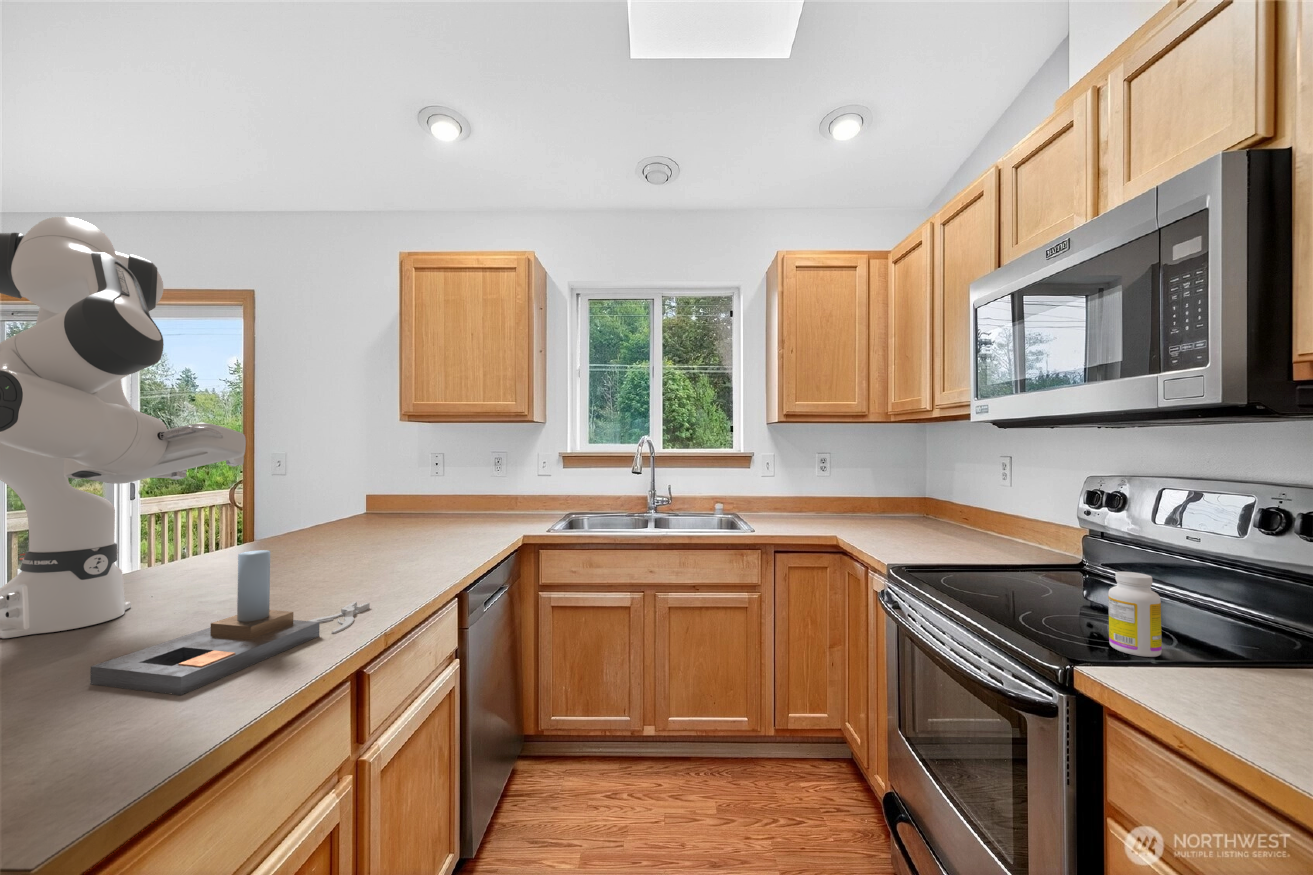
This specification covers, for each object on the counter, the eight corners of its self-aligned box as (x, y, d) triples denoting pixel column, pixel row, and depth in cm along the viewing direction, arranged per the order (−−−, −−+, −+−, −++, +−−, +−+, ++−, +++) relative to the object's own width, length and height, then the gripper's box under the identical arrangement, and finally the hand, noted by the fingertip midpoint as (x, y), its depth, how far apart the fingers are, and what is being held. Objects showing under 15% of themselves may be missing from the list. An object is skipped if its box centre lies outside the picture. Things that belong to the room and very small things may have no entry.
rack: (90, 684, 76) (90, 652, 76) (245, 629, 98) (245, 604, 98) (180, 695, 73) (181, 661, 73) (319, 636, 95) (319, 610, 95)
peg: (230, 620, 90) (231, 554, 90) (254, 612, 94) (255, 549, 94) (252, 622, 89) (253, 556, 89) (275, 614, 93) (276, 550, 93)
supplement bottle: (1151, 647, 92) (1151, 572, 92) (1169, 661, 86) (1168, 581, 86) (1103, 641, 95) (1102, 568, 95) (1116, 654, 89) (1115, 576, 89)
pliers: (284, 625, 97) (339, 601, 112) (284, 634, 97) (339, 608, 112) (335, 627, 96) (384, 602, 111) (335, 636, 96) (384, 610, 111)
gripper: (201, 404, 76) (273, 435, 89) (58, 437, 75) (151, 463, 88) (199, 446, 74) (273, 471, 87) (51, 479, 73) (148, 500, 86)
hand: (211, 467), depth 88 cm, fingers open, 8 cm apart
